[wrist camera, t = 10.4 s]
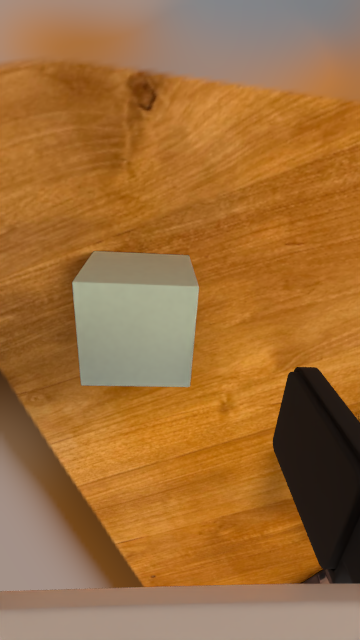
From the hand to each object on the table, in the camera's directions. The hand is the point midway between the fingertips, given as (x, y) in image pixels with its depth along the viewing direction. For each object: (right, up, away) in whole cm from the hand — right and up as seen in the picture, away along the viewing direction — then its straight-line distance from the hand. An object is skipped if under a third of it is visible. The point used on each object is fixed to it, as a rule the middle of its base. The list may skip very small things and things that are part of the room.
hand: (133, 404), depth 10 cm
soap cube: (-1, +4, +6) cm, 7 cm away
